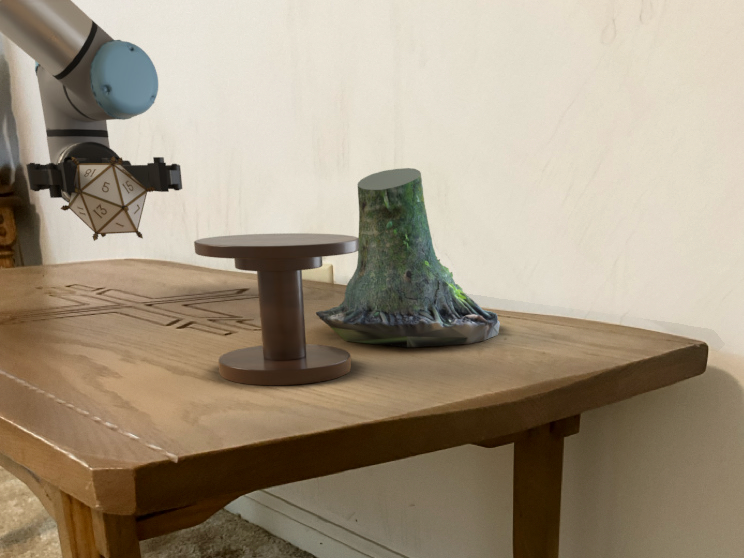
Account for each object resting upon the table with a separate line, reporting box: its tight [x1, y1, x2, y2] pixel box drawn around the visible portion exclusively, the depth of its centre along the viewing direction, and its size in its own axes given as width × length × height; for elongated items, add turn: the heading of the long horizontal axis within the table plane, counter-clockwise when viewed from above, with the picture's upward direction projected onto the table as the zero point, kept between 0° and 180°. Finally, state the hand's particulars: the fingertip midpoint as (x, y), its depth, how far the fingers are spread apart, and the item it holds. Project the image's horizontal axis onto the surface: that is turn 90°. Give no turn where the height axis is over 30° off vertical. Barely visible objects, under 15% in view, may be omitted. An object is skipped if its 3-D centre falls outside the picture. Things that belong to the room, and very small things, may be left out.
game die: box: [60, 156, 155, 242], centre depth 88 cm, size 9×8×10 cm
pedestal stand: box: [193, 232, 359, 386], centre depth 70 cm, size 13×13×10 cm
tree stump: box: [315, 167, 501, 348], centre depth 83 cm, size 18×20×18 cm
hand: (117, 177), depth 84 cm, fingers closed on game die, 8 cm apart
